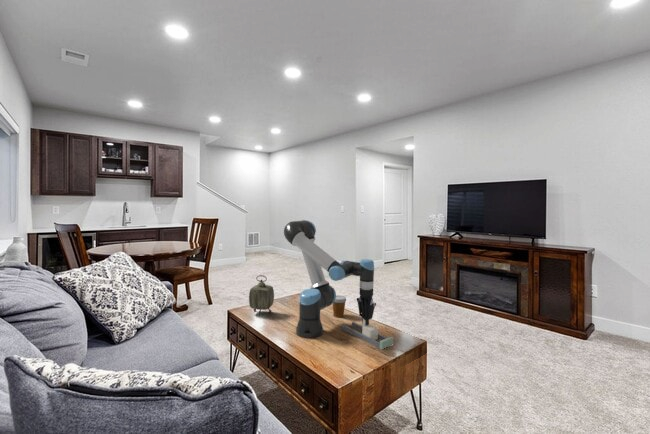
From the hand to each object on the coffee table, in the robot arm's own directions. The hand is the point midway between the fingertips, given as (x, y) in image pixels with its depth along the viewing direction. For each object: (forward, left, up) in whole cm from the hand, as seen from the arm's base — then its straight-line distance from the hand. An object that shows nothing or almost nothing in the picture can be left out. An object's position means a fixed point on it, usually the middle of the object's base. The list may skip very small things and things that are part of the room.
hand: (365, 330), depth 172 cm
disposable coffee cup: (+8, +32, -4) cm, 33 cm away
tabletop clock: (-31, +64, -4) cm, 71 cm away
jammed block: (0, -4, -3) cm, 5 cm away
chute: (0, 0, -3) cm, 3 cm away
